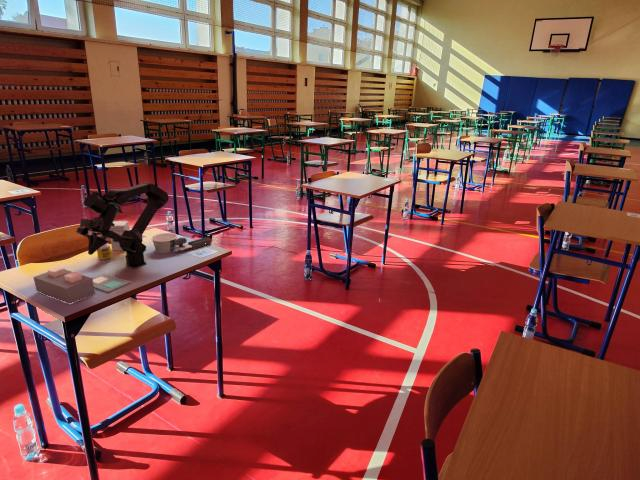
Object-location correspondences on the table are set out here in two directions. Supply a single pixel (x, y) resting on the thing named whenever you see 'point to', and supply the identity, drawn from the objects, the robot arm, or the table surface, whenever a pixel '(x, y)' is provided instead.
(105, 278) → the pattern card
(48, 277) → the console
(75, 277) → the button
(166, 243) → the food container
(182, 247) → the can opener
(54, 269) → the button
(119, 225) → the white square tower
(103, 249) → the supplement bottle
